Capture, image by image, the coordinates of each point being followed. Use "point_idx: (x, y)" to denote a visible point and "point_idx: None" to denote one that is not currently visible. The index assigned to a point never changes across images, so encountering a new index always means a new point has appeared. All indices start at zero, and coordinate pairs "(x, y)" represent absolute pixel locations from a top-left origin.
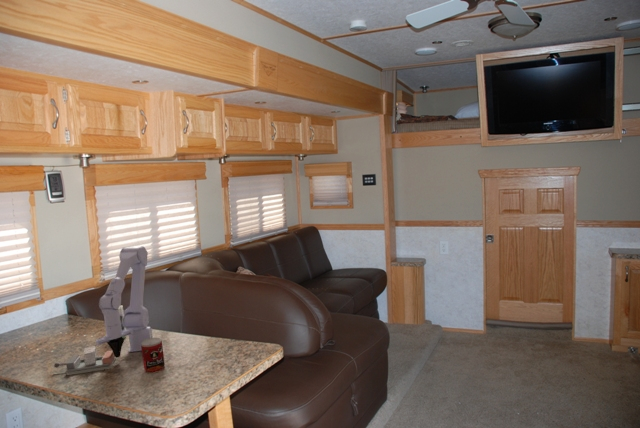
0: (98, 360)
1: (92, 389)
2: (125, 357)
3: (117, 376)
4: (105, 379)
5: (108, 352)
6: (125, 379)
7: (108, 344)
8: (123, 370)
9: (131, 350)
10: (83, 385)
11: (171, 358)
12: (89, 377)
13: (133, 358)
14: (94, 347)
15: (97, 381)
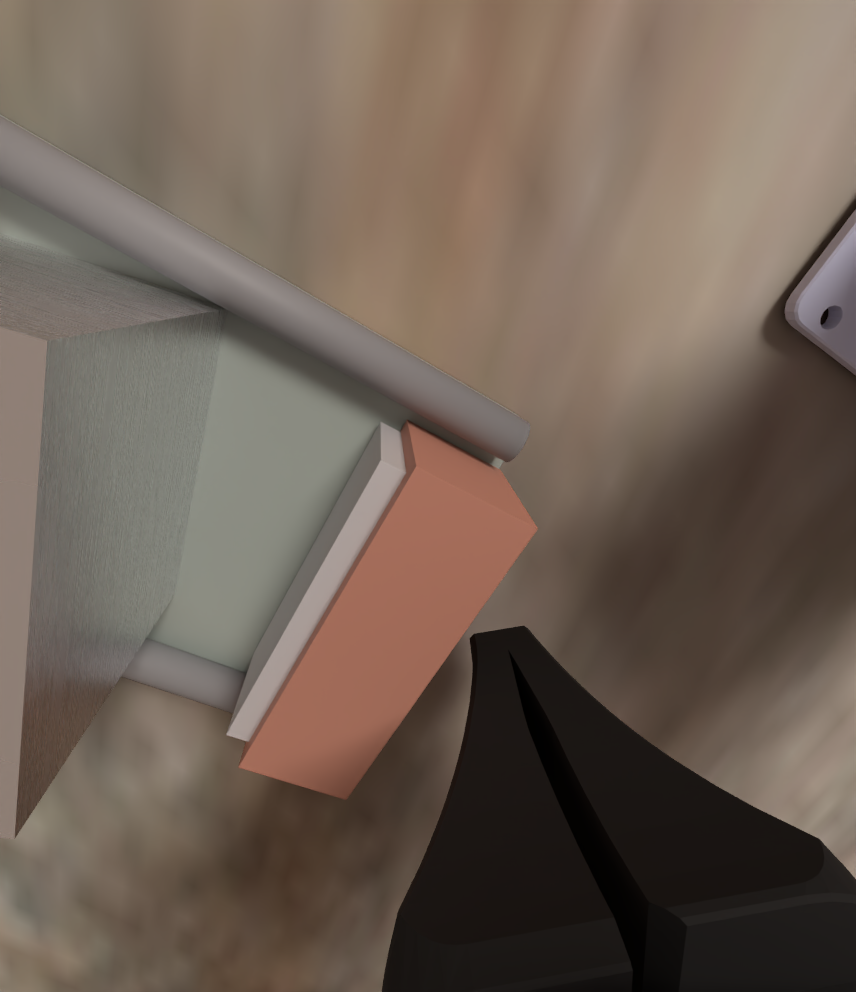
0: (242, 349)
1: (90, 987)
2: (638, 477)
3: (341, 900)
4: (228, 893)
5: (411, 572)
6: (376, 974)
7: (424, 869)
8: (435, 824)
9: (850, 313)
10: (3, 889)
11: (853, 857)
12: (70, 761)
13: (675, 601)
14: (8, 488)
15: (149, 889)
